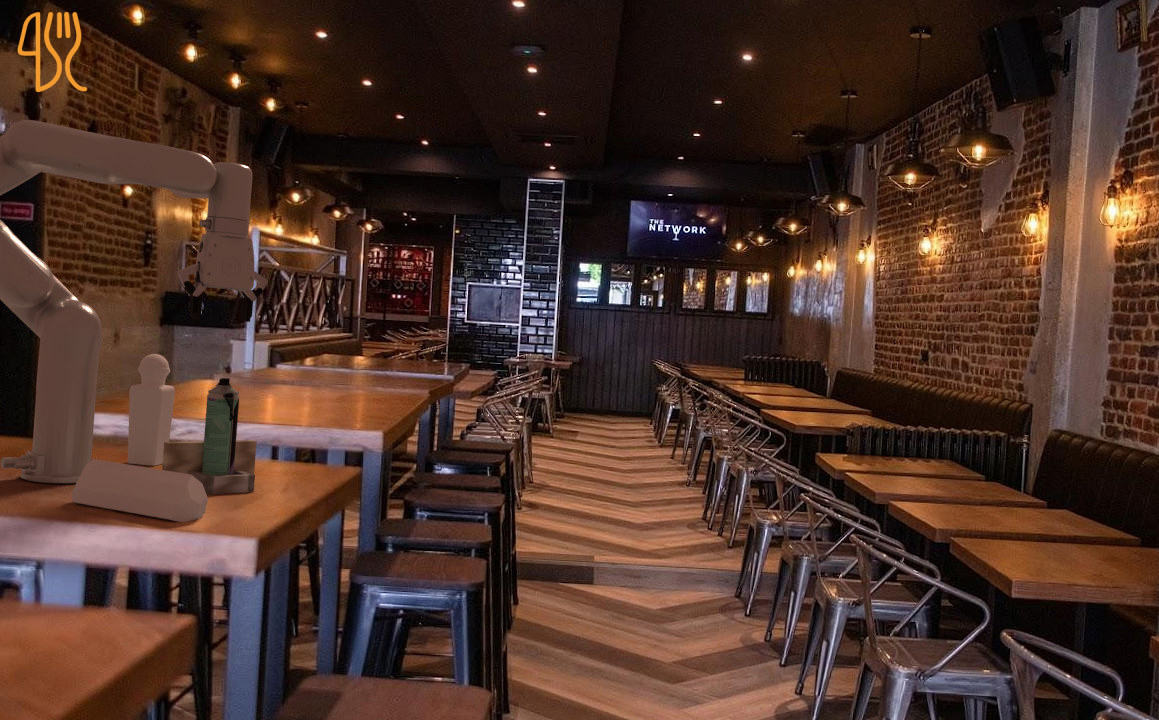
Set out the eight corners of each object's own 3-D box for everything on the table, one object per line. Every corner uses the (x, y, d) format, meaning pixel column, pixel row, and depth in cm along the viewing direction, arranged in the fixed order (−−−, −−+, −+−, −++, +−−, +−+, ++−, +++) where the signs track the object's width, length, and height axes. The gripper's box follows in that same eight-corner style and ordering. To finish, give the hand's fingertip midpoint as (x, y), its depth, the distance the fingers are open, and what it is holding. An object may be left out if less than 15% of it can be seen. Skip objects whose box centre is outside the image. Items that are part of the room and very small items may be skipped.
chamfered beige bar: (53, 480, 163) (175, 501, 154) (86, 454, 168) (206, 473, 160) (69, 518, 166) (189, 540, 158) (101, 491, 172) (219, 511, 163)
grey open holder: (184, 495, 178) (187, 449, 178) (160, 486, 185) (164, 442, 185) (274, 490, 190) (277, 447, 190) (249, 482, 197) (252, 440, 197)
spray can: (239, 489, 189) (247, 379, 188) (216, 492, 184) (225, 379, 183) (216, 484, 191) (224, 376, 191) (193, 487, 186) (201, 376, 186)
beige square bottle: (139, 459, 212) (147, 352, 212) (170, 462, 212) (178, 355, 211) (123, 463, 206) (131, 352, 205) (155, 466, 205) (163, 355, 205)
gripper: (190, 223, 188) (183, 317, 188) (279, 234, 200) (272, 323, 200) (174, 223, 193) (167, 315, 194) (261, 235, 205) (254, 321, 206)
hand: (220, 319), depth 197 cm, fingers open, 9 cm apart
